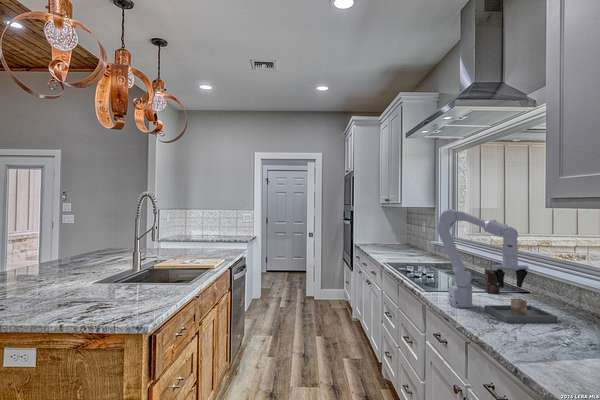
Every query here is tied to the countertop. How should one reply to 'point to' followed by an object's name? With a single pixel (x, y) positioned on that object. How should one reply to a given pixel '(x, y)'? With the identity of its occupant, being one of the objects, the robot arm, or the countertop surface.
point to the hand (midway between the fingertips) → (510, 287)
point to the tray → (532, 316)
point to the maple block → (519, 307)
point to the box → (491, 282)
